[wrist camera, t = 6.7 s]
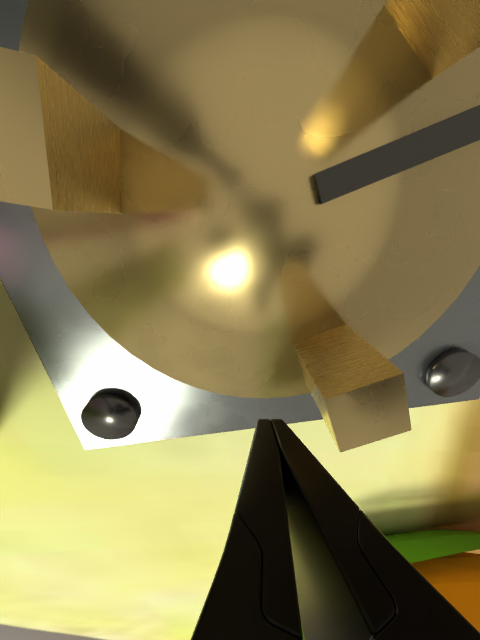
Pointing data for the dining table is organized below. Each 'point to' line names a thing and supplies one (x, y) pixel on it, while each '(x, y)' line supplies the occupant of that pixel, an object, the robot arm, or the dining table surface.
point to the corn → (446, 565)
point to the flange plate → (159, 389)
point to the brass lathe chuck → (255, 184)
